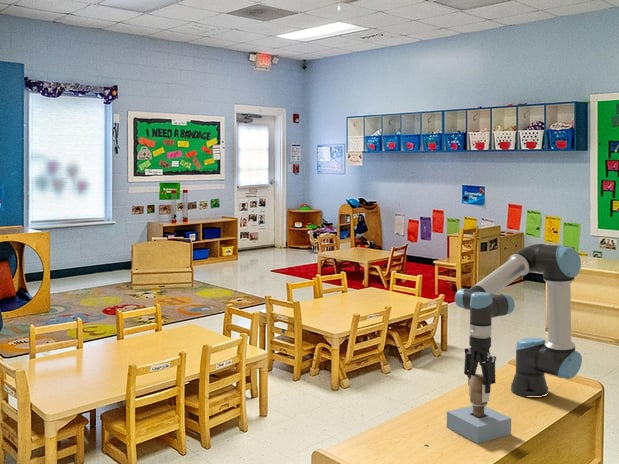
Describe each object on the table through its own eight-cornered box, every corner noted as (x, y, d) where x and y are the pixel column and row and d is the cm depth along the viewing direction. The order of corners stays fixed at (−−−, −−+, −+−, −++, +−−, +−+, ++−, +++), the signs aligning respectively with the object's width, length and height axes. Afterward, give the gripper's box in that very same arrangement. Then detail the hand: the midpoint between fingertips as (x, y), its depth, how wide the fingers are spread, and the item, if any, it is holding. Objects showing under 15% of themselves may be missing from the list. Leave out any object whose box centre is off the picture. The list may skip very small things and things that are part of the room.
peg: (478, 412, 228) (479, 372, 227) (490, 418, 223) (491, 377, 222) (466, 415, 226) (467, 375, 224) (478, 421, 220) (478, 380, 219)
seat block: (479, 418, 236) (479, 403, 235) (511, 434, 222) (511, 418, 221) (446, 427, 228) (446, 411, 228) (477, 443, 214) (477, 427, 214)
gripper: (454, 331, 228) (453, 392, 230) (491, 343, 212) (490, 408, 214) (469, 328, 232) (468, 388, 234) (507, 340, 215) (506, 405, 217)
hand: (478, 398), depth 224 cm, fingers closed on peg, 6 cm apart
